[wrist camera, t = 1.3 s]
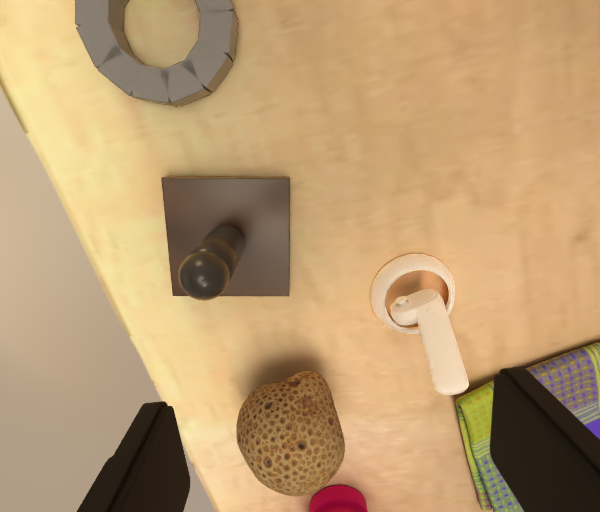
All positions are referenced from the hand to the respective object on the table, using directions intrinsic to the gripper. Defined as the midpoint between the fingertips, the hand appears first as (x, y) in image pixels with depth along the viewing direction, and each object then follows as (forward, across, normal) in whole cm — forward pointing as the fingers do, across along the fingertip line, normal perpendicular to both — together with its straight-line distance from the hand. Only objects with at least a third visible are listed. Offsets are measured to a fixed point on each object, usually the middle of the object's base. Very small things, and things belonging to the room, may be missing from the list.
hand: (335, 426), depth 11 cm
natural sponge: (+22, +3, +15) cm, 27 cm away
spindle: (+22, +6, -1) cm, 23 cm away
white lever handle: (+22, -9, +6) cm, 25 cm away
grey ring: (+22, +9, -17) cm, 29 cm away
